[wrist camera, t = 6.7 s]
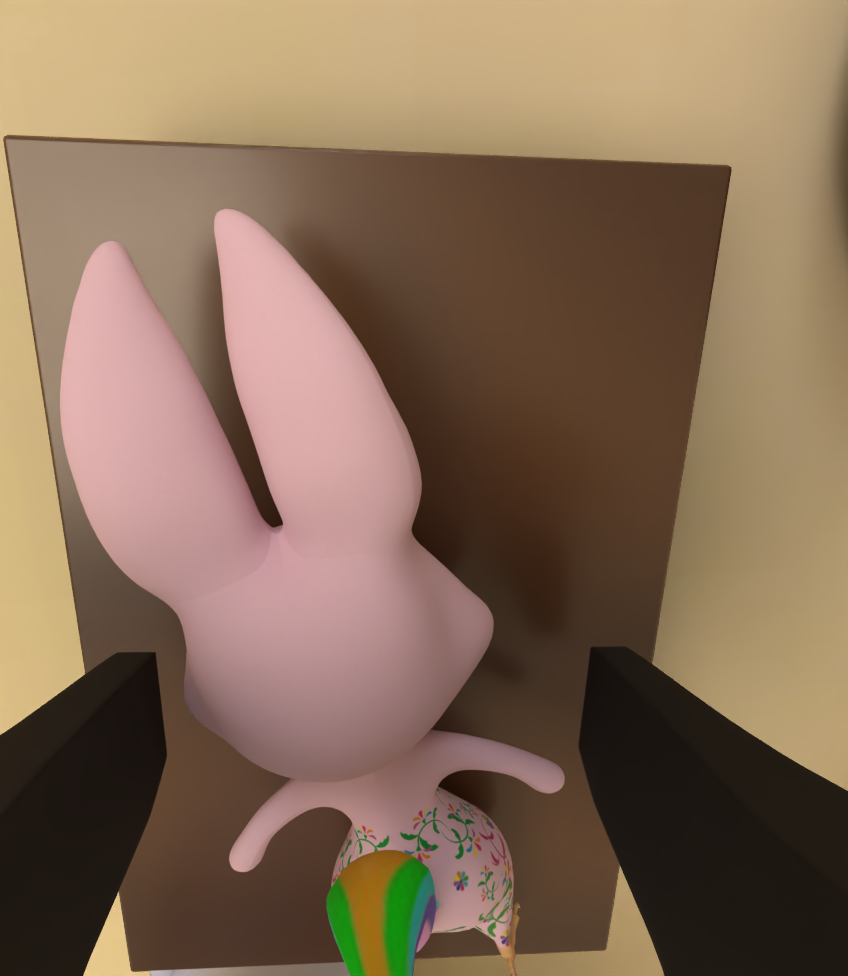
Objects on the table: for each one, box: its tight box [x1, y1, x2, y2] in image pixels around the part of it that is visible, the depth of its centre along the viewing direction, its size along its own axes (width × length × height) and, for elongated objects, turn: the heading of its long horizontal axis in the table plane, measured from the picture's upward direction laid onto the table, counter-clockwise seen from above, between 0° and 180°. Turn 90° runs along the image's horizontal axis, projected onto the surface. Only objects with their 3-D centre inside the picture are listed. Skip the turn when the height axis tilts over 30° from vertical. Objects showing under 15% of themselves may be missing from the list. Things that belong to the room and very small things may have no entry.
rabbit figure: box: [60, 209, 565, 976], centre depth 10 cm, size 6×6×15 cm
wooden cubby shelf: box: [3, 135, 731, 972], centre depth 15 cm, size 17×11×5 cm, turn 178°
